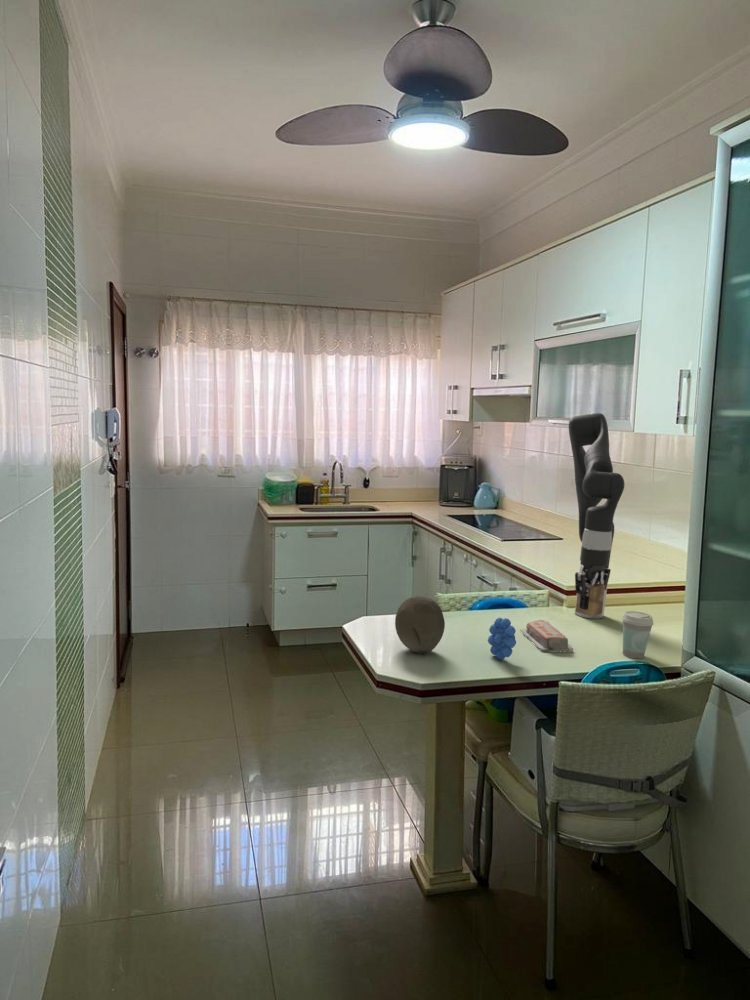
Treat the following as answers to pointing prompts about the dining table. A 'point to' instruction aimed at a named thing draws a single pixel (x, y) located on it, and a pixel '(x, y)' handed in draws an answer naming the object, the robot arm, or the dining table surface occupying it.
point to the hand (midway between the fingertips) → (589, 607)
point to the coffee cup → (636, 633)
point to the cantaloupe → (420, 624)
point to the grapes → (502, 638)
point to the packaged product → (546, 637)
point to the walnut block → (593, 600)
